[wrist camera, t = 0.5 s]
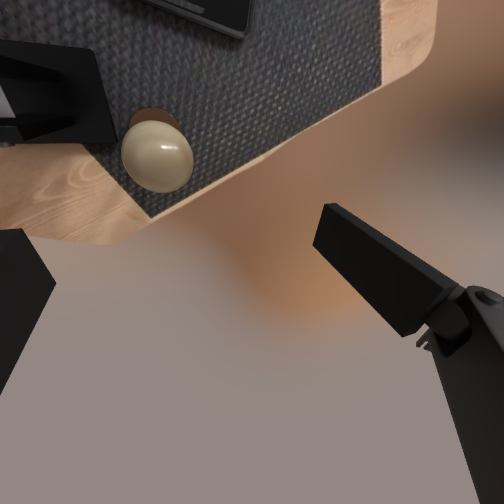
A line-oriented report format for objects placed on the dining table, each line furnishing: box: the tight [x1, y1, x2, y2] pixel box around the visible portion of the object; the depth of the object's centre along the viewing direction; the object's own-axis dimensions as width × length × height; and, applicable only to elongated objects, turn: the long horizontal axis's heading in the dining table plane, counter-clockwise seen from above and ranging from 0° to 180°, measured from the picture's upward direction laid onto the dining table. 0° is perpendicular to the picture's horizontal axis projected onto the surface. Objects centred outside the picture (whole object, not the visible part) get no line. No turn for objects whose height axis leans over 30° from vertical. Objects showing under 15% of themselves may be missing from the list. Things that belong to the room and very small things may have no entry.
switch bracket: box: [0, 39, 118, 148], centre depth 19 cm, size 12×9×15 cm
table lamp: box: [121, 107, 194, 193], centre depth 24 cm, size 7×7×17 cm
